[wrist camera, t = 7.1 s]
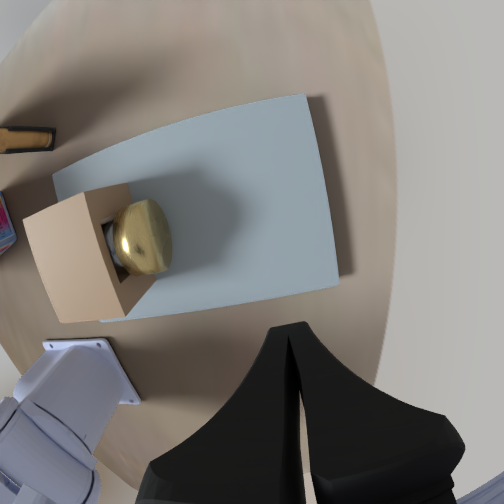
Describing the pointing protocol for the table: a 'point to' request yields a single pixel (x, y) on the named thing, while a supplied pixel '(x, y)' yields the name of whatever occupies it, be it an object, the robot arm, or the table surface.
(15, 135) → the ammunition clip
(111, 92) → the table surface
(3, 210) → the ink cartridge box
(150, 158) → the mounting board
